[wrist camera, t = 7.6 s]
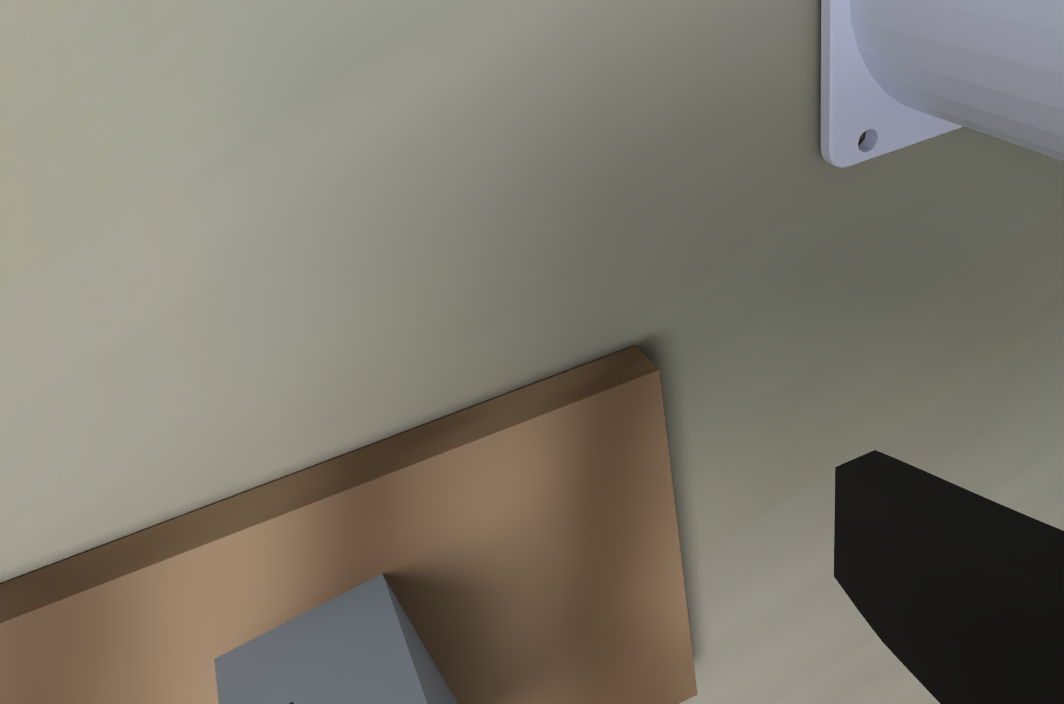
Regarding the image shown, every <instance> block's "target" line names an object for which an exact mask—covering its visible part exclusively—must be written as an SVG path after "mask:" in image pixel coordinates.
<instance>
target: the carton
mask: <svg viewBox="0 0 1064 704" xmlns="http://www.w3.org/2000/svg"><path fill="white" fill-rule="evenodd" d="M214 663H215V672H216V682H217V691H218V701H219V704H289V703H291V702H293V703H294V704H458V703H457V701H456V699H455V698H454V696H453V694H452V693H451V691H450V689H449V687H448V686H447V684H446V682H445V680H444V679H443V677H442V675H441V674H440V672H439V670H438V668H437V667H436V665H435V663H434V662H433V660H432V658H431V656H430V655H429V653H428V651H427V650H426V648H425V646H424V644H423V643H422V641H421V639H420V637H419V636H418V634H417V632H416V631H415V629H414V627H413V625H412V624H411V622H410V620H409V619H408V617H407V615H406V613H405V612H404V610H403V608H402V607H401V605H400V603H399V601H398V600H397V598H396V596H395V594H394V593H393V591H392V589H391V588H390V586H389V584H388V582H387V581H386V579H385V577H384V576H383V574H380V575H378V576H376V577H374V578H372V579H370V580H368V581H366V582H364V583H362V584H360V585H358V586H356V587H355V588H353V589H351V590H349V591H347V592H345V593H343V594H341V595H339V596H337V597H335V598H333V599H331V600H329V601H327V602H325V603H323V604H321V605H319V606H317V607H315V608H313V609H311V610H309V611H307V612H305V613H303V614H302V615H300V616H298V617H296V618H294V619H292V620H290V621H288V622H286V623H284V624H282V625H280V626H278V627H276V628H274V629H272V630H270V631H268V632H266V633H264V634H262V635H260V636H258V637H256V638H254V639H252V640H250V641H249V642H247V643H245V644H243V645H241V646H239V647H237V648H235V649H233V650H231V651H229V652H227V653H225V654H223V655H221V656H219V657H217V658H215V659H214Z"/></svg>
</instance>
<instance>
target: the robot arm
mask: <svg viewBox="0 0 1064 704" xmlns="http://www.w3.org/2000/svg"><path fill="white" fill-rule="evenodd" d="M962 127H966V128H969V129H972V130H975V131H978V132H981V133H983V134H986V135H989V136H992V137H995V138H998V139H1001V140H1004V141H1006V142H1009V143H1012V144H1015V145H1018V146H1021V147H1024V148H1026V149H1029V150H1032V151H1035V152H1038V153H1041V154H1044V155H1046V156H1049V157H1052V158H1055V159H1058V160H1061V161H1064V0H821V153H822V157H823V158H824V160H825V161H826V162H828V163H830V164H832V165H834V166H836V167H839V168H845V167H849V166H852V165H855V164H858V163H861V162H864V161H867V160H870V159H872V158H875V157H878V156H881V155H884V154H887V153H890V152H893V151H896V150H898V149H901V148H904V147H907V146H910V145H913V144H916V143H919V142H921V141H924V140H927V139H930V138H933V137H936V136H939V135H942V134H944V133H947V132H950V131H953V130H956V129H959V128H962ZM865 131H866V136H865V139H864V140H863V142H862V143H861V144H860V145H858V142H859V138H860V136H861V135H862V134H863V132H865ZM834 577H835V578H836V580H837V581H838V582H839V584H840V585H841V587H842V588H843V589H844V591H845V592H846V594H847V595H848V596H849V598H850V599H851V600H852V602H853V603H854V605H855V606H856V607H857V609H858V610H859V612H860V613H861V614H862V616H863V617H864V618H865V619H866V621H867V622H868V623H869V625H870V626H871V627H872V629H873V630H874V631H875V633H876V634H877V635H878V636H879V638H880V639H881V640H882V642H883V643H884V644H885V645H886V646H887V647H888V648H889V649H890V650H891V651H892V653H893V654H894V655H895V656H896V657H897V658H898V659H899V660H900V661H901V662H902V663H903V664H904V665H905V666H906V668H907V669H908V670H909V671H910V672H911V673H912V674H913V675H914V676H915V677H916V678H917V679H918V680H919V681H920V682H921V684H922V685H923V686H924V687H925V688H926V689H927V690H928V691H929V692H930V693H931V694H932V695H933V696H934V697H935V698H936V699H937V700H938V701H939V702H940V704H1064V531H1062V530H1060V529H1057V528H1055V527H1053V526H1050V525H1048V524H1045V523H1043V522H1040V521H1038V520H1036V519H1033V518H1031V517H1028V516H1026V515H1024V514H1021V513H1019V512H1017V511H1014V510H1012V509H1010V508H1007V507H1005V506H1003V505H1000V504H998V503H996V502H993V501H991V500H989V499H986V498H984V497H982V496H980V495H977V494H975V493H973V492H970V491H968V490H966V489H964V488H961V487H959V486H957V485H955V484H952V483H950V482H948V481H945V480H943V479H941V478H939V477H936V476H934V475H932V474H930V473H927V472H925V471H923V470H921V469H918V468H916V467H914V466H911V465H909V464H907V463H905V462H902V461H900V460H898V459H895V458H893V457H890V456H888V455H886V454H883V453H881V452H878V451H876V450H874V451H872V452H870V453H867V454H865V455H863V456H860V457H858V458H856V459H853V460H851V461H849V462H847V463H844V464H842V465H840V466H837V467H836V472H835V541H834ZM289 704H294V703H293V702H291V703H289Z"/></svg>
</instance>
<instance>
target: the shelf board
mask: <svg viewBox="0 0 1064 704" xmlns="http://www.w3.org/2000/svg"><path fill="white" fill-rule="evenodd" d="M380 574H383V576H384V577H385V579H386V581H387V582H388V584H389V586H390V588H391V589H392V591H393V593H394V594H395V596H396V598H397V600H398V601H399V603H400V605H401V607H402V608H403V610H404V612H405V613H406V615H407V617H408V619H409V620H410V622H411V624H412V625H413V627H414V629H415V631H416V632H417V634H418V636H419V637H420V639H421V641H422V643H423V644H424V646H425V648H426V650H427V651H428V653H429V655H430V656H431V658H432V660H433V662H434V663H435V665H436V667H437V668H438V670H439V672H440V674H441V675H442V677H443V679H444V680H445V682H446V684H447V686H448V687H449V689H450V691H451V693H452V694H453V696H454V698H455V699H456V701H457V703H458V704H679V703H681V702H683V701H685V700H687V699H689V698H691V697H693V696H695V695H697V688H696V679H695V671H694V662H693V653H692V645H691V636H690V628H689V619H688V610H687V602H686V593H685V585H684V576H683V568H682V559H681V550H680V542H679V533H678V525H677V516H676V507H675V499H674V490H673V482H672V473H671V464H670V456H669V447H668V439H667V430H666V422H665V413H664V404H663V396H662V387H661V379H660V370H659V369H658V368H657V367H656V366H655V365H654V364H653V363H652V362H651V361H650V360H649V359H648V358H647V357H646V356H645V355H644V354H643V353H642V352H641V351H640V350H639V349H638V348H637V347H636V346H633V347H630V348H628V349H625V350H622V351H620V352H617V353H614V354H612V355H609V356H606V357H604V358H601V359H598V360H596V361H593V362H590V363H588V364H585V365H582V366H580V367H577V368H574V369H572V370H569V371H566V372H564V373H561V374H558V375H556V376H553V377H550V378H548V379H545V380H542V381H540V382H537V383H535V384H532V385H529V386H527V387H524V388H521V389H519V390H516V391H513V392H511V393H508V394H505V395H503V396H500V397H497V398H495V399H492V400H489V401H487V402H484V403H481V404H479V405H476V406H473V407H471V408H468V409H465V410H463V411H460V412H457V413H455V414H452V415H449V416H447V417H444V418H441V419H439V420H436V421H433V422H431V423H428V424H425V425H423V426H420V427H417V428H415V429H412V430H409V431H407V432H404V433H401V434H399V435H396V436H393V437H391V438H388V439H385V440H383V441H380V442H377V443H375V444H372V445H369V446H367V447H364V448H361V449H359V450H356V451H353V452H351V453H348V454H345V455H343V456H340V457H337V458H335V459H332V460H329V461H327V462H324V463H321V464H319V465H316V466H313V467H311V468H308V469H305V470H303V471H300V472H297V473H295V474H292V475H289V476H287V477H284V478H281V479H279V480H276V481H273V482H271V483H268V484H265V485H263V486H260V487H258V488H255V489H252V490H250V491H247V492H244V493H242V494H239V495H236V496H234V497H231V498H228V499H226V500H223V501H220V502H218V503H215V504H212V505H210V506H207V507H204V508H202V509H199V510H196V511H194V512H191V513H188V514H186V515H183V516H180V517H178V518H175V519H172V520H170V521H167V522H164V523H162V524H159V525H156V526H154V527H151V528H148V529H146V530H143V531H140V532H138V533H135V534H132V535H130V536H127V537H124V538H122V539H119V540H116V541H114V542H111V543H108V544H106V545H103V546H100V547H98V548H95V549H92V550H90V551H87V552H84V553H82V554H79V555H76V556H74V557H71V558H68V559H66V560H63V561H60V562H58V563H55V564H52V565H50V566H47V567H44V568H42V569H39V570H36V571H34V572H31V573H28V574H26V575H23V576H20V577H18V578H15V579H12V580H10V581H7V582H4V583H2V584H0V704H219V701H218V691H217V682H216V672H215V663H214V659H215V658H217V657H219V656H221V655H223V654H225V653H227V652H229V651H231V650H233V649H235V648H237V647H239V646H241V645H243V644H245V643H247V642H249V641H250V640H252V639H254V638H256V637H258V636H260V635H262V634H264V633H266V632H268V631H270V630H272V629H274V628H276V627H278V626H280V625H282V624H284V623H286V622H288V621H290V620H292V619H294V618H296V617H298V616H300V615H302V614H303V613H305V612H307V611H309V610H311V609H313V608H315V607H317V606H319V605H321V604H323V603H325V602H327V601H329V600H331V599H333V598H335V597H337V596H339V595H341V594H343V593H345V592H347V591H349V590H351V589H353V588H355V587H356V586H358V585H360V584H362V583H364V582H366V581H368V580H370V579H372V578H374V577H376V576H378V575H380Z"/></svg>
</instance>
